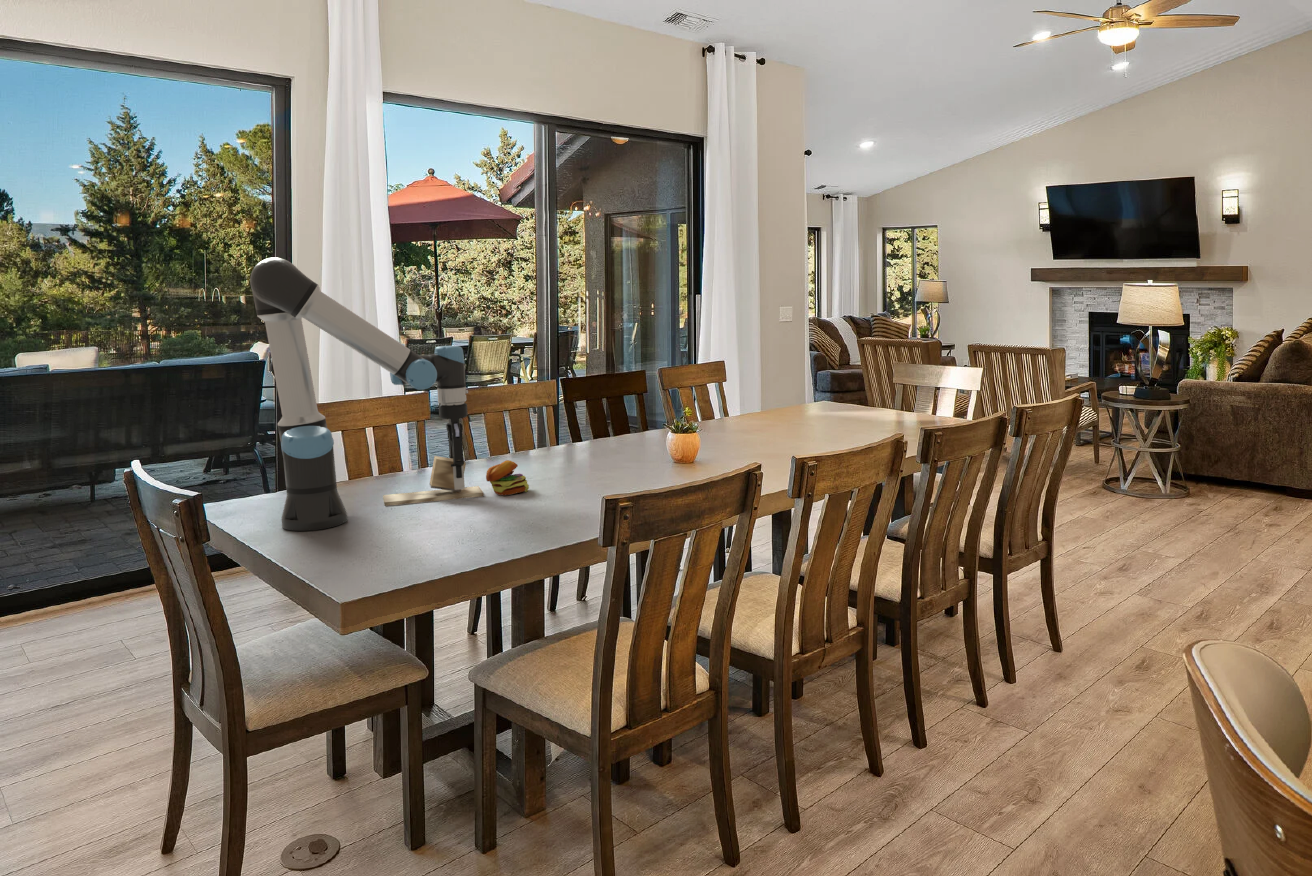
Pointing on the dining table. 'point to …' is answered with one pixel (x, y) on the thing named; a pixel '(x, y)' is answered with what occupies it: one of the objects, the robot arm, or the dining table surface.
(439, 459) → the block
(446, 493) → the board
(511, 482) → the cheeseburger
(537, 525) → the dining table surface
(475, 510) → the dining table surface
